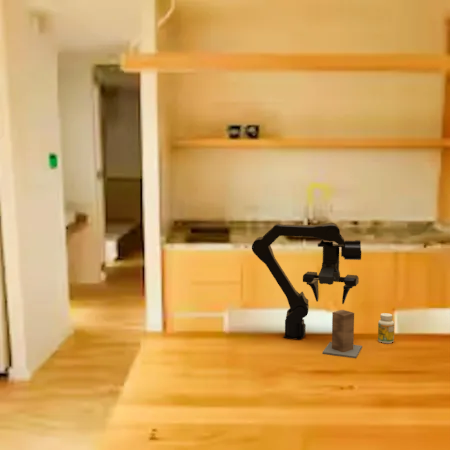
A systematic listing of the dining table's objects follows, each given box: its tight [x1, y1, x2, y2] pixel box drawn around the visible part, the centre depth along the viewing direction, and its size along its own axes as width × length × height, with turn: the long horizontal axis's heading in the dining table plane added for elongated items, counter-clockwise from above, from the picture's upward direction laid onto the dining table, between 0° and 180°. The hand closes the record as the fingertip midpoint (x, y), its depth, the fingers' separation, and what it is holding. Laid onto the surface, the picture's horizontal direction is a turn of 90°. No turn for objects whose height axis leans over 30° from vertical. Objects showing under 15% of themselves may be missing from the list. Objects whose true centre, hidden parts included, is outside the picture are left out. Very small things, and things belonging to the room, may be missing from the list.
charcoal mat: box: [322, 341, 363, 359], centre depth 197 cm, size 11×11×1 cm
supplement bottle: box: [377, 312, 395, 344], centre depth 205 cm, size 5×5×10 cm
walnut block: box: [331, 309, 355, 352], centre depth 196 cm, size 5×5×12 cm
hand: (330, 302), depth 208 cm, fingers open, 9 cm apart
